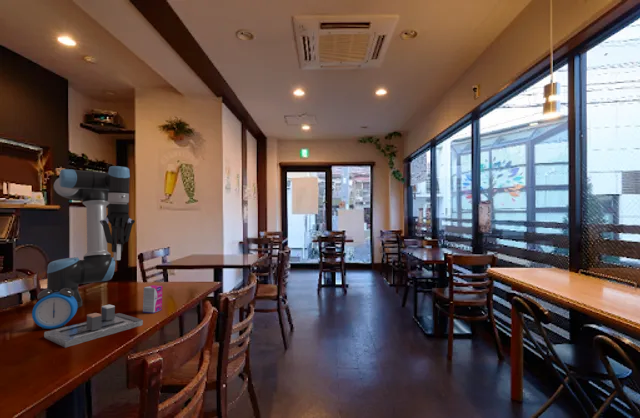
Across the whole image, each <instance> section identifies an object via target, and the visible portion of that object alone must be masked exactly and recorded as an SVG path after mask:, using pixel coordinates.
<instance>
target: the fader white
mask: <svg viewBox="0 0 640 418" xmlns="http://www.w3.org/2000/svg"><path fill="white" fill-rule="evenodd" d="M115 311H116V306H115V305H113V304H106V305H102V306H101V319H103V320H106V321H107V320H111V319H115V314H116V312H115Z"/></svg>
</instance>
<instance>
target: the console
mask: <svg viewBox="0 0 640 418" xmlns="http://www.w3.org/2000/svg"><path fill="white" fill-rule="evenodd" d="M143 323H144V320H143V319H141V318H138V317H135V316H132V315H129V314H128V315H127V314H124V313H122V312H121V313H120V312H118V313H115V319H111V320H107V321H106V320H103V319H101V329H97V330H93V331H91V330H89V329H87V321H84V322H83V321H82V322H80V323H76V324H72V325H68V326H65V327H63V326H62V327H58V328H54V329H50V330H48V331H44V333H43V336H44V337H43V338H45V339H46V340H48V341H51V342H53V343H54V344H57V345H59V346H61V347H62V348H65V349H66V348H68V347H72V346H76V345H79V344H82V343H85V342H89V341H93V340H97V339H99V338H103V337H106V336H110V335H114V334H118V333H121V332H124V331H127V330H131V329H134V328H138V327H141V326H143V325H144V324H143Z"/></svg>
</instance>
